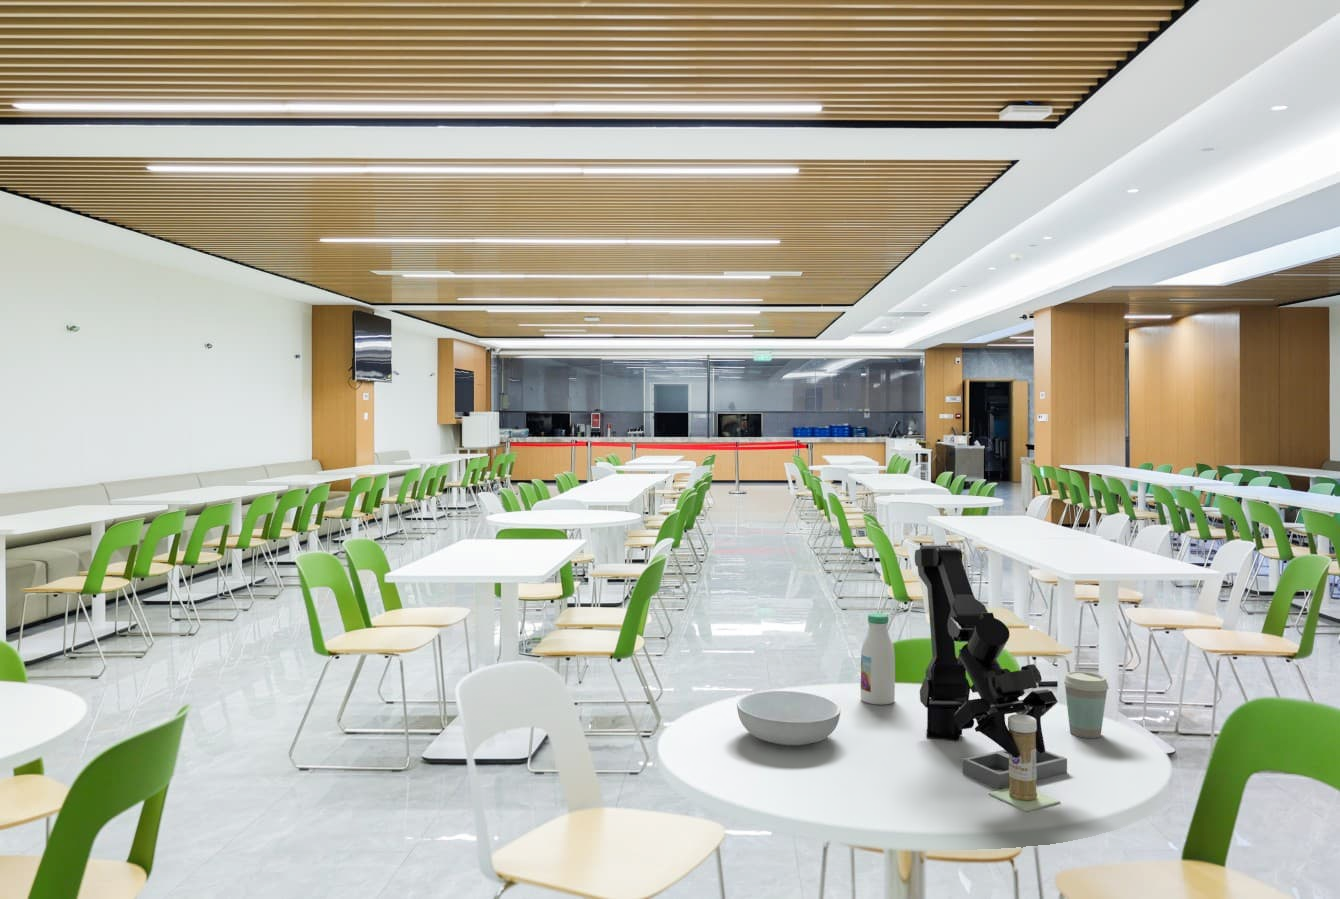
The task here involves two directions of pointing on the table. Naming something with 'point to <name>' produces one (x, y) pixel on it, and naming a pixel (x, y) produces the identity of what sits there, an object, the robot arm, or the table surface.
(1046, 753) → the tray
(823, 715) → the serving bowl
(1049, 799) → the pad
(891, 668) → the milk bottle
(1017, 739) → the sprinkles bottle
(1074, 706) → the coffee cup
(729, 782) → the table surface
